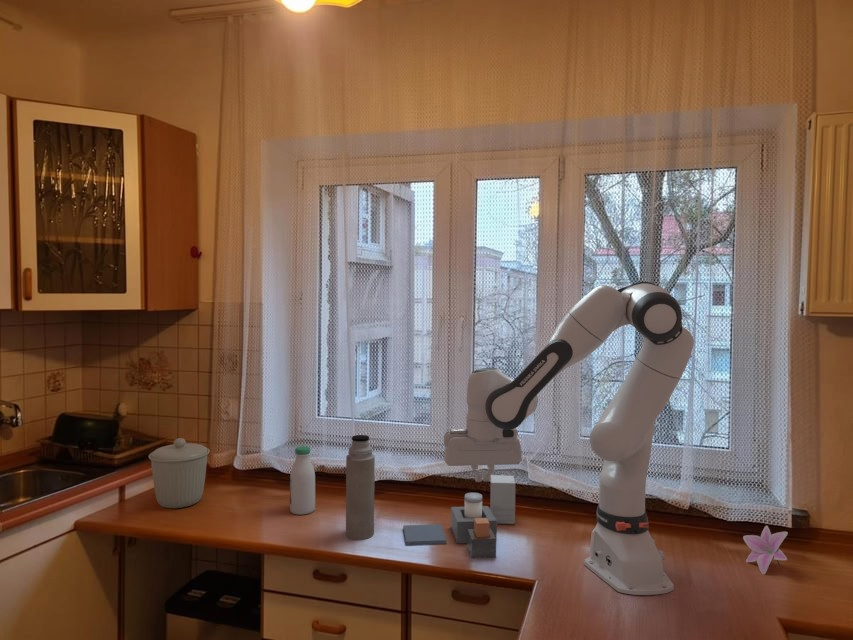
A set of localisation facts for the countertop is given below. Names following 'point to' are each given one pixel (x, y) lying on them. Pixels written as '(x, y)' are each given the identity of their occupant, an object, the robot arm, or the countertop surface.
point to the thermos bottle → (360, 489)
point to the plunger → (481, 527)
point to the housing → (469, 522)
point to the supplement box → (503, 499)
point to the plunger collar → (481, 545)
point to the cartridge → (473, 505)
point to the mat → (424, 534)
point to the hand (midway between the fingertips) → (482, 481)
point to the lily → (765, 548)
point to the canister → (179, 473)
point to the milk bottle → (302, 483)
